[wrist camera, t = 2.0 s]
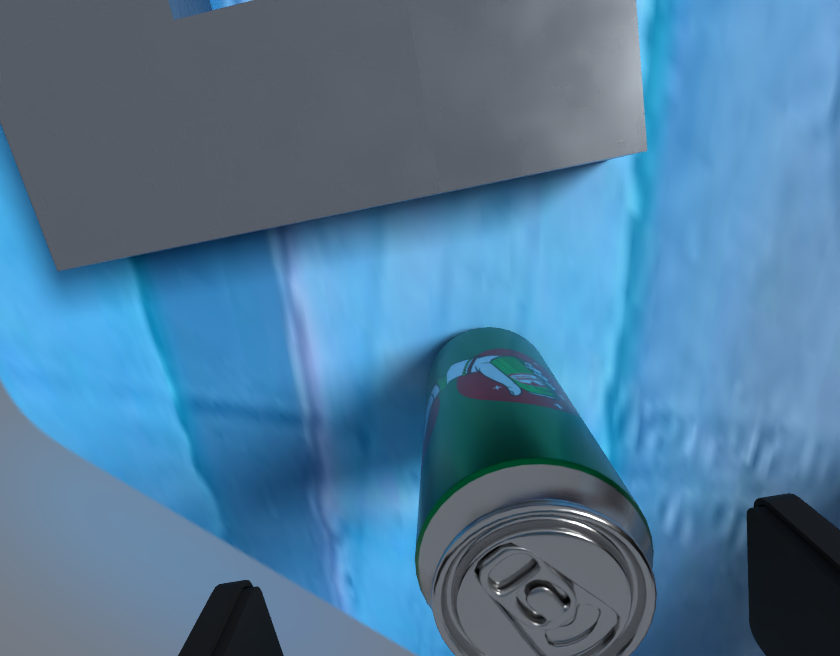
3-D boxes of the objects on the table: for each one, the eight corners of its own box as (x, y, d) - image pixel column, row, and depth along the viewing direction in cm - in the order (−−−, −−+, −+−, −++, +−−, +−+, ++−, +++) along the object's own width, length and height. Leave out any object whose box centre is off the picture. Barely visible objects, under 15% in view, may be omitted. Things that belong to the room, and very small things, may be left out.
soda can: (482, 454, 22) (531, 744, 10) (403, 378, 21) (358, 598, 9) (569, 382, 21) (733, 612, 9) (489, 298, 20) (558, 435, 8)
